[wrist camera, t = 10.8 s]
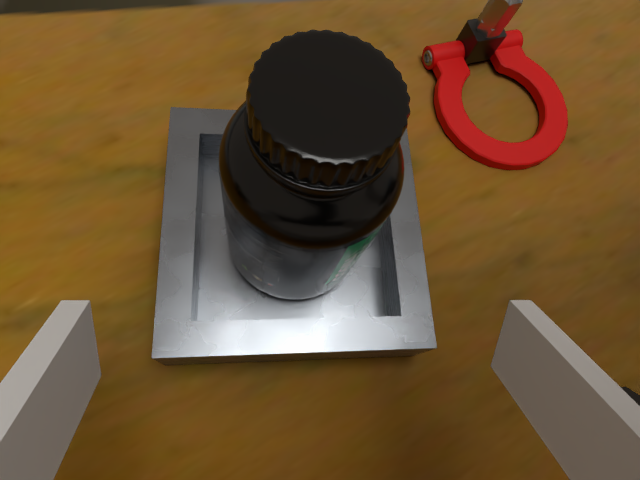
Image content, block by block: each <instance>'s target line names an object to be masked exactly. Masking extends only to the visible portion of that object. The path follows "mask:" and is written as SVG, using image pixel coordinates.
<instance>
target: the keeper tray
mask: <svg viewBox="0 0 640 480" xmlns="http://www.w3.org/2000/svg"><path fill="white" fill-rule="evenodd" d="M235 112H236V110H221V109H199V108H176V107H171V110H170V123H169V137H168V150H167V163H166V176H165V189H164V203H163V216H162V229H161V242H160V255H159V269H158V282H157V295H156V308H155V321H154V334H153V348H152V359H154V360H156V361H158V362H160V363H162V364H164V365H185V364H211V363H237V362H263V361H289V360H315V359H341V358H367V357H393V356H414V355H417V354H420V353H423V352H426V351H429V350H432V349H435V348H437V345H436V338H435V331H434V323H433V316H432V309H431V302H430V294H429V287H428V280H427V273H426V265H425V258H424V251H423V244H422V236H421V229H420V222H419V215H418V207H417V200H416V193H415V186H414V178H413V171H412V164H411V157H410V149H409V142H408V135H407V128H406V130H405V132H404V134H403V136H402V137H401V140H400V145H401V148H402V152H403V158H404V181H403V187H402V191H401V194H400V197H399V199H398V201H397V203H396V205H395V207H394V209H393V211H392V213H391V214H390V216H389V217H388V219H387V220H386V222H385V223H384V224H383V226H382V227H381V229H380V230H379V231H378V233H377V234H376V235H375V237H374V238H373V240H372V241H371V242H370V244H369V245H368V246H367V248H366V249H365V251H364V252H363V253H362V255H361V256H360V258H359V259H358V260H357V262H356V263H355V264H354V266H353V267H352V269H351V270H350V271H349V272H348V274H347V275H346V276H345V277H344V278H343V279H342V280H341V281H340V282H339V283H338V284H337V285H336V286H334V287H333V288H332V289H330V290H328V291H327V292H325V293H323V294H321V295H318V296H315V297H311V298H307V299H297V300H293V299H283V298H278V297H275V296H272V295H269V294H267V293H264V292H262V291H261V290H259V289H257V288H256V287H254V286H253V285H252V284H251V283H249V282H248V281H247V280H246V279H245V278H244V277H243V275H242V274H241V273H240V272H239V270H238V269H237V267H236V265H235V263H234V261H233V259H232V256H231V254H230V250H229V246H228V240H227V233H226V225H225V217H224V209H223V201H222V192H221V184H220V176H219V148H220V143H221V139H222V136H223V133H224V130H225V128H226V126H227V124H228V122H229V120H230V119H231V117H232V116H233V114H234V113H235Z"/></svg>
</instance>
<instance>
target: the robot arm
mask: <svg viewBox="0 0 640 480" xmlns="http://www.w3.org/2000/svg"><path fill="white" fill-rule="evenodd" d="M491 367H492V369H493V370H494V372H495V373H496V375H497V376H498V377H499V379H500V380H501V382H502V383H503V385H504V386H505V387H506V389H507V390H508V392H509V393H510V395H511V396H512V397H513V399H514V400H515V402H516V403H517V405H518V406H519V407H520V409H521V410H522V412H523V413H524V415H525V416H526V417H527V419H528V420H529V422H530V423H531V425H532V426H533V427H534V429H535V430H536V432H537V433H538V435H539V436H540V437H541V439H542V440H543V442H544V443H545V445H546V446H547V447H548V449H549V450H550V452H551V453H552V455H553V456H554V457H555V459H556V460H557V462H558V463H559V465H560V466H561V467H562V469H563V470H564V472H565V473H566V475H567V476H568V477H569V479H570V480H640V395H638V394H636V393H635V392H633V391H632V390H630V389H629V388H627V387H620V386H619V385H618V384H617V383H615V382H614V381H613V380H612V379H611V378H610V377H609V376H608V375H607V374H606V373H605V372H604V371H603V370H602V369H601V368H600V367H599V366H598V365H597V364H596V363H595V362H594V361H593V360H592V359H591V358H590V357H589V356H588V355H587V354H586V353H585V352H584V351H583V350H582V349H581V348H580V347H579V346H578V345H576V344H575V343H574V342H573V341H572V340H571V339H570V338H569V337H568V336H567V335H566V334H565V333H564V332H563V331H562V330H561V329H560V328H559V327H558V326H557V325H556V324H555V323H554V322H553V321H552V320H551V319H550V318H549V317H548V316H547V315H546V314H545V313H544V312H543V311H542V310H541V309H540V308H539V307H538V306H536V305H535V304H534V303H533V302H532V301H531V300H510V301H509V304H508V308H507V311H506V315H505V318H504V321H503V325H502V328H501V332H500V335H499V339H498V342H497V346H496V349H495V353H494V356H493V360H492V363H491ZM100 377H101V370H100V364H99V357H98V351H97V344H96V338H95V331H94V325H93V318H92V311H91V305H90V300H62V301H61V302H60V303H59V305H58V306H57V307H56V309H55V310H54V311H53V313H52V314H51V315H50V317H49V318H48V319H47V321H46V322H45V324H44V325H43V326H42V328H41V329H40V330H39V332H38V333H37V334H36V336H35V337H34V338H33V340H32V341H31V343H30V344H29V345H28V347H27V348H26V349H25V351H24V352H23V353H22V355H21V356H20V357H19V359H18V360H17V361H16V363H15V364H14V366H13V367H12V368H11V370H10V371H9V372H8V374H7V375H6V376H5V378H4V379H3V380H2V382H1V383H0V480H53V479H54V477H55V475H56V473H57V471H58V468H59V466H60V464H61V462H62V460H63V458H64V455H65V453H66V451H67V449H68V447H69V445H70V442H71V440H72V438H73V436H74V434H75V431H76V429H77V427H78V425H79V423H80V421H81V418H82V416H83V414H84V412H85V410H86V408H87V405H88V403H89V401H90V399H91V397H92V395H93V392H94V390H95V388H96V386H97V384H98V381H99V379H100Z"/></svg>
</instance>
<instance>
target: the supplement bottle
mask: <svg viewBox="0 0 640 480" xmlns="http://www.w3.org/2000/svg"><path fill="white" fill-rule="evenodd" d="M409 102H410V97H409V95H408V93H407V85H406V83H405V82H404V81H403V80H402V76H401V73H400V72H399V71H398V70H397V69H396V68H395V67H394V64H393V62H392V61H391V60H389V59H387V58H386V57H385V55H384V54H383V52H382V51H380V50H377V49H375V48H374V47H373V46H372V45H371V44H370V43H367V42H364V41H362V40H360V39H359V38H358V37H356V36H349V35H347V34H345V33H343V32H332V31H330V30H323V31H317V30H310V31H308V32H297V33H295V34H294V35H292V36H284V37H283V38H282V39H281V40H280V41H278V42H275V43H272V45H271V46H270V48H269V49H268V50H265V51H264V52H262V55H261V58H260V59H259V60H258V61H256V62H255V64H254V68H253V72H252V73H251V74H250V76H249V80H248V89H247V92H246V101H245V102H244V103H243V104H242V105H241V106H240V107H239V108H238V109H237V110H236V112H235V113H234V114H233V116H232V117H231V119H230V120H229V122H228V124H227V126H226V128H225V130H224V133H223V136H222V139H221V143H220V148H219V176H220V184H221V192H222V201H223V209H224V217H225V225H226V233H227V240H228V246H229V250H230V254H231V256H232V259H233V261H234V263H235V265H236V267H237V269H238V270H239V272H240V273H241V274H242V275H243V277H244V278H245V279H246V280H247V281H248V282H249V283H251V284H252V285H253V286H254V287H256V288H257V289H259V290H261V291H262V292H264V293H267V294H269V295H272V296H275V297H278V298H283V299H293V300H297V299H307V298H311V297H315V296H318V295H321V294H323V293H325V292H327V291H328V290H330V289H332V288H333V287H334V286H336V285H337V284H338V283H339V282H340V281H341V280H342V279H343V278H344V277H345V276H346V275H347V274H348V272H349V271H350V270H351V269H352V267H353V266H354V264H355V263H356V262H357V260H358V259H359V258H360V256H361V255H362V253H363V252H364V251H365V249H366V248H367V246H368V245H369V244H370V242H371V241H372V240H373V238H374V237H375V235H376V234H377V233H378V231H379V230H380V229H381V227H382V226H383V224H384V223H385V222H386V220H387V219H388V217H389V216H390V214H391V213H392V211H393V209H394V207H395V205H396V203H397V201H398V199H399V197H400V194H401V191H402V187H403V181H404V158H403V152H402V148H401V145H400V140H401V137H402V136H403V134H404V132H405V130H406V128H407V119H408V117H409V115H410V108H409Z"/></svg>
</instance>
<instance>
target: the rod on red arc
mask: <svg viewBox="0 0 640 480" xmlns="http://www.w3.org/2000/svg"><path fill="white" fill-rule="evenodd" d="M522 2H523V0H489V1H488V2H487V4H486V6H485V7H484V9H483V11H482V12H481V14H480V15H479V17H478V18H477V19H472V20H468V21H467V23H466V24H465V26H464V28H463V29H462V31H461V33H460V34H459V36H458V37H457V39H456V41H452V42H447V43H442V44H436V45H431V46H426V47H425V48H424V50H423V54H422V60H423V64H424V66H425V68H426V69H428V70H431V69H432V70H433V72H434V74H435V76H436V78H437V80H438V81H437V83H436V85H435V92H434V105H435V110H436V114H437V118H438V120H439V122H440V124H441V126H442V128H443V130H444V132H445V134H446V135H447V136H448V137H449V138H450V140H451V141H452V142H453V143H454V144H455V145H456V147H457V148H459V149H460V150H461V151H463V152H464V153H465V154H466V155H468V156H469V157H470V158H472V159H474V160H476V161H478V162H480V163H482V164H484V165H487V166H489V167H493V168H498V169H503V170H522V169H526V168H529V167H532V166H535V165H538V164H539V163H541V162H542V161H543V160H545V159H546V158H548V157H549V156H550V155H551V154H553V153H554V152H555V151H556V150H557V149H558V147H559V146H560V144H561V143H562V141H563V140H564V138H565V134H566V130H567V126H568V118H567V108H566V105H565V102H564V98H563V95H562V93H561V92H560V90H559V88H558V87H557V85H556V83H555V82H554V80H553V79H552V78H551V77H550V76H549V75H548V74H547V72H546V71H545V70H544V69H543V68H542V67H541V66H539V65H538V64H536V63H535V62H534V61H532V60H531V59H530V58H528V57H526V55H525V54H524V52H523V50H522V48H521V47H522V44H523V36H522V33H521V32H520V31H519V30H517V29H516V30H510V31H505V30H504V27H505V26H506V25H507V24H508V23H509V21H510V20H511V18H512V17H513V16H514V14H515V13H516V12H517V10H518V9H519V7H520V6H521V4H522ZM488 59H490V60H491V62H492V64H493V66H494V68H495V70H496V71H497V72H499V73H500V74H504V75H507V76H509V77H511V78H513V79H515V80H516V81H518V82H519V83H520V84H522V85H523V86H524V87H525V88H526V89H527V90H528V91H529V93H530V94H531V95H532V97H533V99H534V100H535V102H536V104H537V108H538V111H539V125H538V129H537V132H536V133H535V135H534V136H533V137H532V138H531V139H529V140H526V141H523V142H519V143H508V142H503V141H498V140H496V139H494V138H492V137H489V136H487V135H486V134H484V133H483V132H482V131H480V130H479V129H478V128H477V127H476V126H475V125H474V124H473V123H472V121H471V120H470V119H469V117H468V116H467V114H466V112H465V110H464V107H463V103H462V99H461V97H462V87H463V84H464V82H465V81H466V79H467V78H468V76H469V75H470V70H469V68H468V66H467V64H470V63H475V62H480V61H485V60H488Z"/></svg>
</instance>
